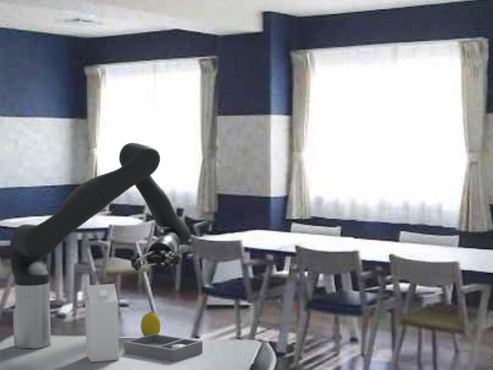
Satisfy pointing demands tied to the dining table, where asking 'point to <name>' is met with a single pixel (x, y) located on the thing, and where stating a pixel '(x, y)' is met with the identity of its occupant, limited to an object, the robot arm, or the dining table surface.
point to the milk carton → (101, 323)
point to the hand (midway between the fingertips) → (151, 266)
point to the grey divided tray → (163, 347)
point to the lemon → (150, 324)
